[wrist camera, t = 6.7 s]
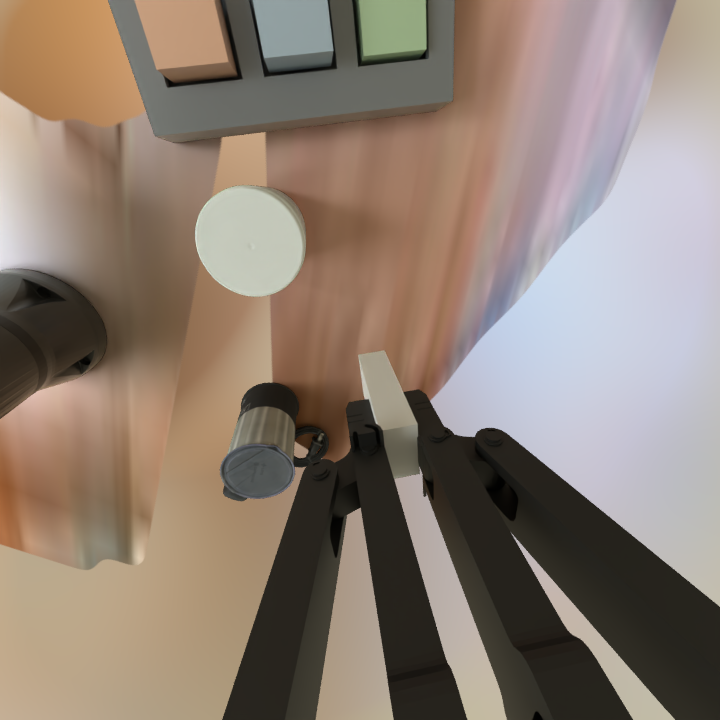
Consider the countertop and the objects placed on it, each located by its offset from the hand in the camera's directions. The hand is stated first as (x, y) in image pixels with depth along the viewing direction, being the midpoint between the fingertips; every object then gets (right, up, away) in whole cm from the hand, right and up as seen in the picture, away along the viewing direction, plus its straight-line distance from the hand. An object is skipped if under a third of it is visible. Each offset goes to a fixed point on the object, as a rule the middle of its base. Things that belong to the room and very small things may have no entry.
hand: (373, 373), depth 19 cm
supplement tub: (-12, +18, +23) cm, 31 cm away
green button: (+2, +34, +14) cm, 37 cm away
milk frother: (-13, -9, +37) cm, 40 cm away
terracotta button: (-16, +30, +11) cm, 36 cm away
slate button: (-7, +32, +11) cm, 34 cm away
